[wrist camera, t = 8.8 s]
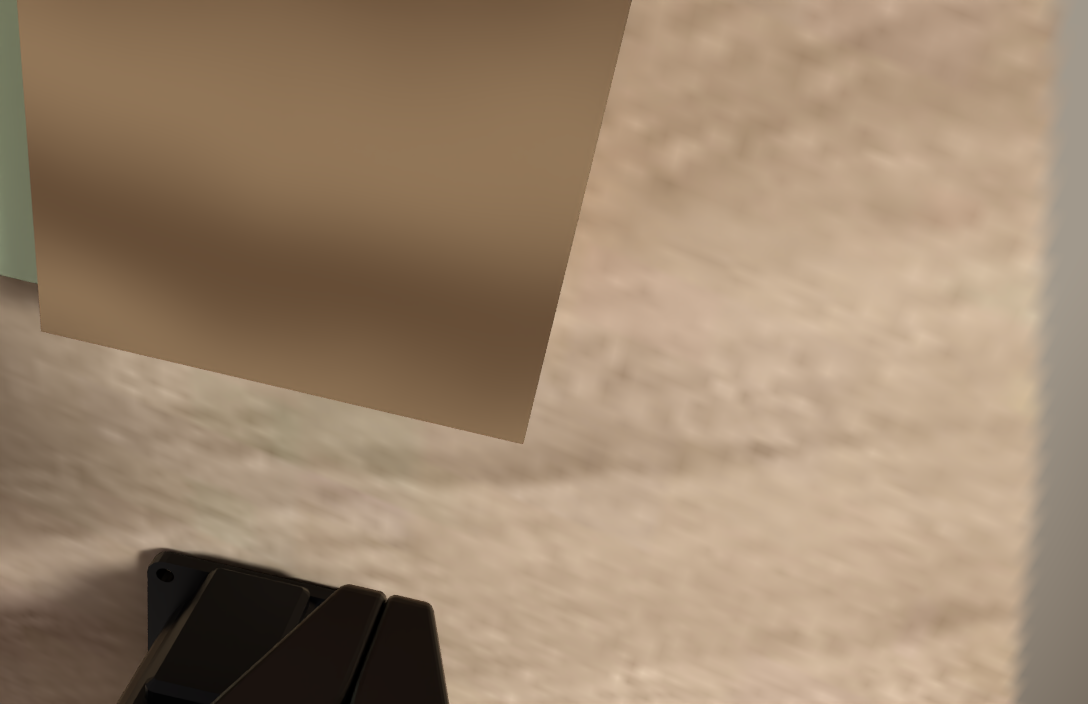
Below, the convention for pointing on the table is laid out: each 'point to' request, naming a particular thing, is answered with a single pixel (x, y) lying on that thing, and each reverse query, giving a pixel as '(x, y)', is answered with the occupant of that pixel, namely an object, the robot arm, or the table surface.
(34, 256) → the mat
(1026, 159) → the table surface
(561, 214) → the deck
